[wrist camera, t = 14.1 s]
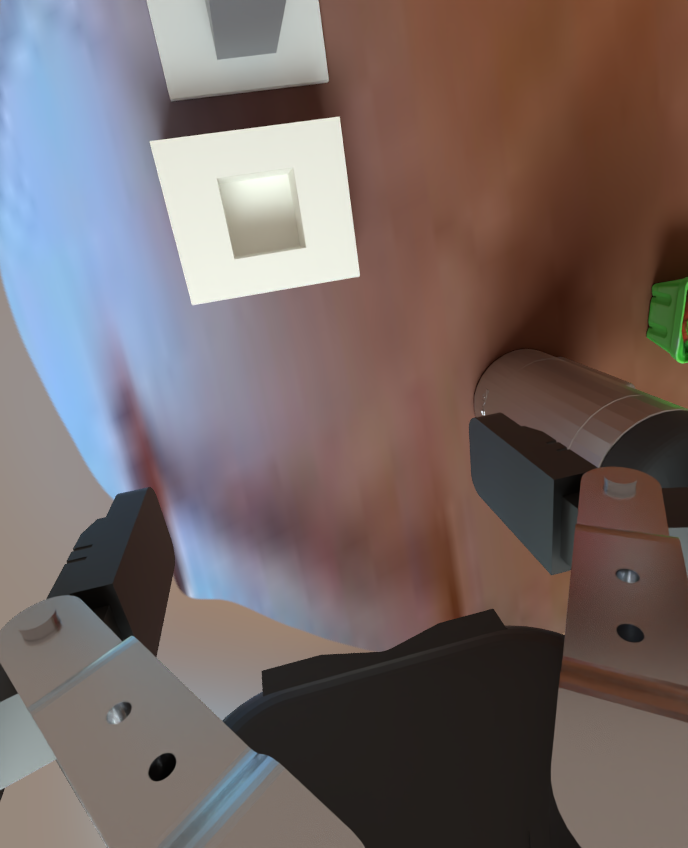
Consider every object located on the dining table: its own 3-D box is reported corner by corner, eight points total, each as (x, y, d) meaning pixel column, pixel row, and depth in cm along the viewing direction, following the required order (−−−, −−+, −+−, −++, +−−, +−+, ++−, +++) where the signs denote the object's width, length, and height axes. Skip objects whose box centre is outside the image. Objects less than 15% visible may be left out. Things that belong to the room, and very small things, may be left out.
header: (327, 131, 36) (339, 116, 31) (346, 271, 40) (359, 276, 35) (161, 153, 35) (149, 141, 30) (198, 296, 38) (192, 305, 34)
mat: (308, -63, 32) (309, -68, 31) (327, 82, 35) (328, 80, 34) (135, -49, 31) (133, -54, 30) (171, 101, 34) (170, 99, 33)
